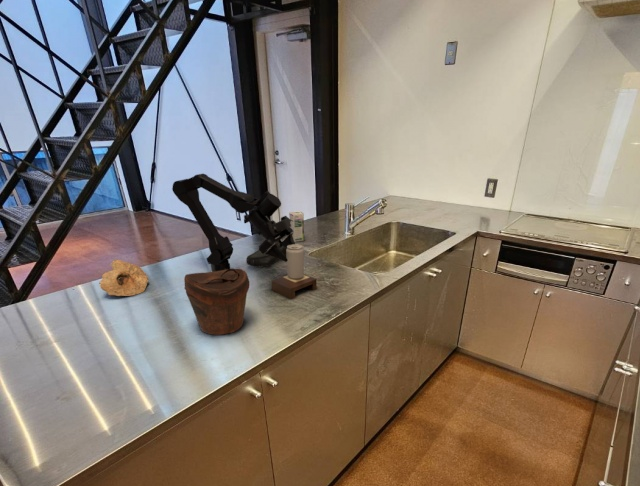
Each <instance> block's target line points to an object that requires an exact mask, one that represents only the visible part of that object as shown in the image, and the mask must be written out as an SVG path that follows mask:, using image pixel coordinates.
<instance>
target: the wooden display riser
mask: <svg viewBox="0 0 640 486" xmlns="http://www.w3.org/2000/svg"><path fill="white" fill-rule="evenodd" d="M270 284H271V285H270V286H271V291H273V292H274V293H277V294H280V295H282V296H283V297H286V298H287V299H289V300H292V299H294V298H296V291H298V290H301V289H304V288H307V289H309V290H311V291H314V290H317V278H315V277H312V276H311V275H307V274H305V273H304V276H303V277H302V278H300V279H291V278H289V277H288V276H287V274H286V275H283V276H279V277H276V278H274V279H271V280H270Z"/></svg>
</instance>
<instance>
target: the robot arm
mask: <svg viewBox="0 0 640 486" xmlns="http://www.w3.org/2000/svg"><path fill="white" fill-rule="evenodd" d="M200 188H202V189H203V190H205V191H207V192H209V193H210V194H213V195H215V196H216V197H218V198H220V199H221V200H224V201H225V202H227V204H229V206H230V207H231V208H232V209H233V210H235V211H236V212H238V213H239V214H245V213H247V212H249V213H247V214H245V215H243V223H244V224H247V223H249V222H250V223H251V224H252V225H253V227H254V228H255V229H256V230H257V231H258V232H257V235H259V236H262V237H263V238H264V239H265V240H263V242H262V243H261V244H260V245H258V250H259V251H260V252H261V253H262V254H264V253H265V252H266V251H267V252H266V253H265V254H266V255H267V254H268V255H270V256H273V257H275V258H278V260H280V261H283V262H285V263H287V261H288V259H287V258H286V256H285V255H284V254H283V252H282V251H281V250H280V248H279V242H282V243H281V245H283V246H284V247H286V248H287V246H288V245H292V244H294V243H295V242H294V243H293V240H292V235H293V233H292V232H293V230H292V229H291V224H290V222H291V220H290V218H289V216H287V215H284V216H281V217H280V220H279V221H277V222H276V221H275V220H270V218H269V217H272V216H273V215H274V214H275V213H276V212H277V211H278V209H280V208H281V206H282V201H281V200H280V198H279V197H278V196H276V195H274V194H273V193H271V192H270V191H269V190H267V191H265V192H264V193H263V194H262V196H261V197H260V198H256V197H254V196H253V195H252V194H250V193H246V192H244V191H239V190H235V189H232V188H230V187H228V186H227V185H225V184H223V183H221V182H220V181H217V180H216V179H214V178H212V177H210V176H209V175H208V174H205V173H198V174H194V176H192V177H189V178H183V179H179V180H175V181H174V182H173V184H172V188H171V190H172V192H173V194H174V195H175V196H176V198H177V199H178V200H179V201H180V202H181V203H183V204H184V205H185V206H186V207H188V210H189V211H190V213H191V214H192V216H193V217H194V219H195V221H196V222H197V224H198V226H199V227H200V229H201V230H202V233H203V234H204V235H205V237H206V239H207V241H208V250H209V252H210V254H209V255H208V256H207V258H206V261H207V264H208V265H210V269H211V272H215V271H220V270H228V269H231V263H230V262H229V260H230V259H231V257H232V255H233V253H234V248H233V246H234V245H233V243H232V242H231V241H230V239H229V237H228V236H223V235H221V233H220V232H219V230H218V229H217V227H216V226H215V224H214V222H213V220H212V219H211V217H210V216H209V213H208V212H207V211H206V208H204V205H203V204H202V202H201V200H200V191H199V190H198V189H200ZM278 241H279V242H278ZM276 242H277V243H276Z"/></svg>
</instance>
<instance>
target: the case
mask: <svg viewBox="0 0 640 486" xmlns="http://www.w3.org/2000/svg"><path fill="white" fill-rule="evenodd" d="M183 278H184V280H183V281H184V290H185V294H186V296H187V298H188V301H189V303H190V306H191V308H192V311H193V313H194V316H195V318H196V320H197V323H198V326H199V328H200V330H201V331H202V332H204V333H205V334H209V335H216V336H217V335H218V336H219V335H220V336H221V335H227V334H232V333H235V332H236V331H238V330H239V329H241V327H242V326H243V324H244V317H245V310H246V302H247V296H248V295H247V294H248V293H249V289H250V280H249V276H248V273H247V272H246V270H244V269H242V268H230V269H228V270H220V271H215V272H212V271H208V272H193V273H186V274H185V275H184V277H183Z"/></svg>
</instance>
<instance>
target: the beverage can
mask: <svg viewBox="0 0 640 486" xmlns="http://www.w3.org/2000/svg"><path fill="white" fill-rule="evenodd" d="M304 251H305V250H304V248H303V245H301V244H298V243H295V244H292V245H288V246H287V249H286V258H287V259H288V261H287V262H286V275H287V276H288V277H289V278H291V279H300V278H302V277H303V276H304V274H305V256H304V255H305V252H304Z"/></svg>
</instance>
